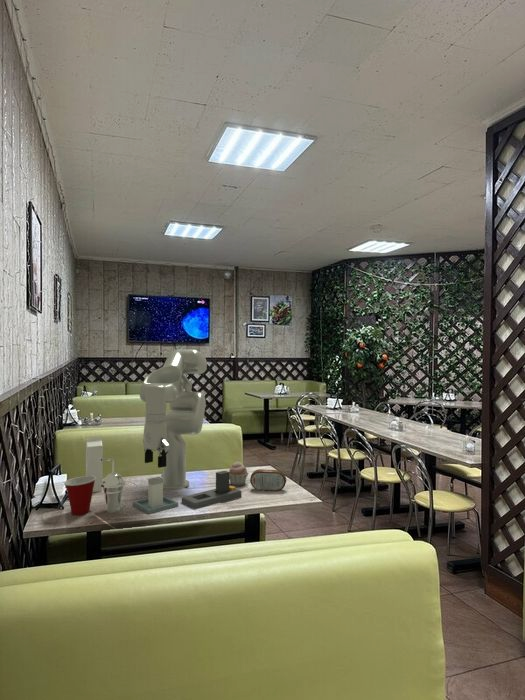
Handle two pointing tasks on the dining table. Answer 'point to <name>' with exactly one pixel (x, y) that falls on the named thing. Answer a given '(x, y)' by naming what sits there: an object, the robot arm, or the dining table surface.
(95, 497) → the dining table surface
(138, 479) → the dining table surface
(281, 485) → the brown oval speaker
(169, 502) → the tray
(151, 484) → the plug
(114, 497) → the cup with straw
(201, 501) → the power strip
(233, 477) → the cupcake
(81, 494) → the plastic cup
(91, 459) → the milk
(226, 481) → the black plug
